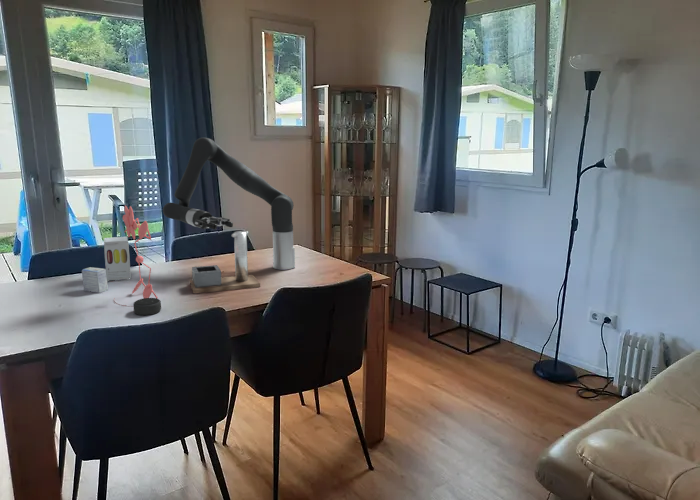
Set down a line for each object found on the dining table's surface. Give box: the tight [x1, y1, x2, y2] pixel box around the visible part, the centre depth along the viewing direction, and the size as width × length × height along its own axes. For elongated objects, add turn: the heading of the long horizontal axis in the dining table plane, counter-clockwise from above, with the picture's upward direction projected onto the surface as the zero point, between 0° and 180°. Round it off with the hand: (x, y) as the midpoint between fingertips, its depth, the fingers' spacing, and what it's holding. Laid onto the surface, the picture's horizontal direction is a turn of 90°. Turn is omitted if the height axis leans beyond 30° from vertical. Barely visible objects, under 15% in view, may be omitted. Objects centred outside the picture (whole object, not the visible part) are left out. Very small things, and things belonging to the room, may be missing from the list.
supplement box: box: [103, 236, 132, 282], centre depth 222 cm, size 10×9×17 cm
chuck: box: [191, 264, 222, 288], centre depth 211 cm, size 10×10×6 cm
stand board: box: [189, 274, 261, 294], centre depth 214 cm, size 26×14×2 cm, turn 112°
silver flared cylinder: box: [231, 230, 250, 282], centre depth 214 cm, size 8×5×20 cm, turn 142°
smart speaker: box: [132, 297, 162, 316], centre depth 182 cm, size 9×9×4 cm
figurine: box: [113, 205, 159, 307], centre depth 192 cm, size 15×26×35 cm, turn 38°
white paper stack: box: [81, 266, 109, 294], centre depth 205 cm, size 8×4×9 cm, turn 71°
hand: (224, 225), depth 218 cm, fingers open, 8 cm apart
